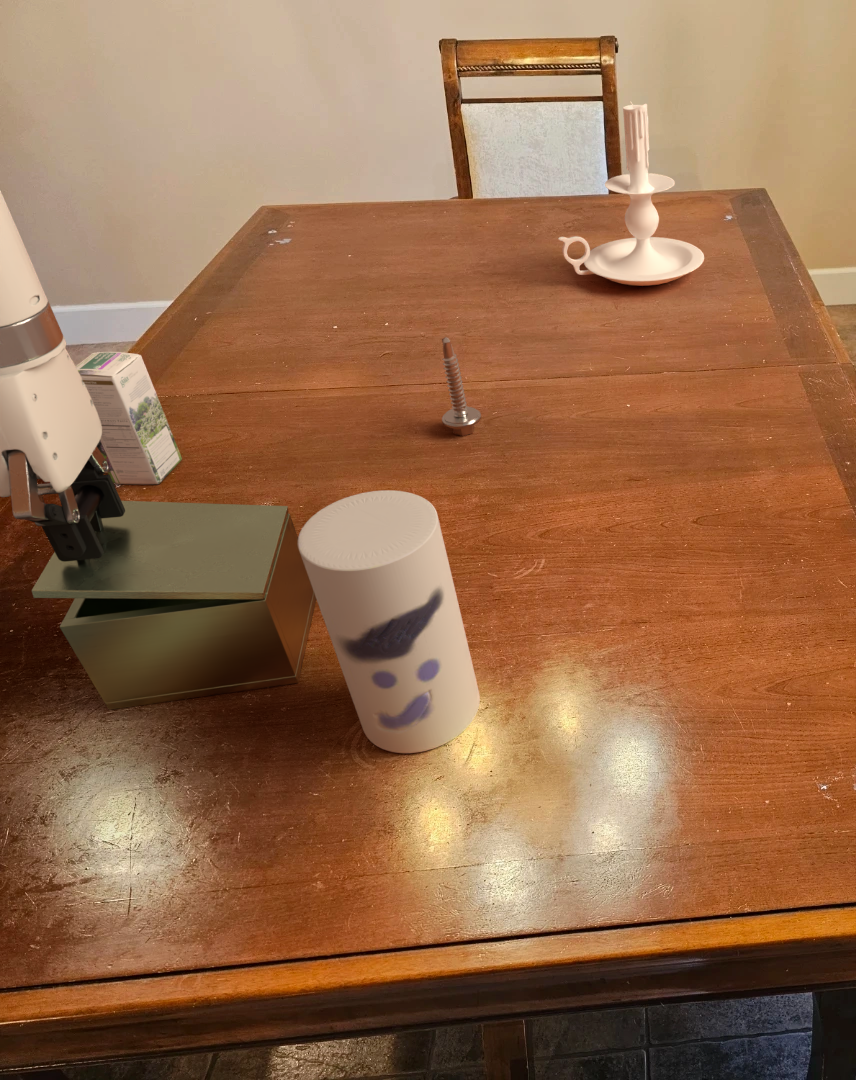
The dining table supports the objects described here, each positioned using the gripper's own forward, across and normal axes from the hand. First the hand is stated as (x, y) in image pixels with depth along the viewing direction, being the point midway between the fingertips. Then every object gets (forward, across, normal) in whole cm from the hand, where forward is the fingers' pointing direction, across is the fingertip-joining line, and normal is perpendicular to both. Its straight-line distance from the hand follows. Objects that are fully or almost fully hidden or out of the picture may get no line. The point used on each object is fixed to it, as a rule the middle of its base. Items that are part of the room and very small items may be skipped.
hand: (93, 534), depth 78 cm
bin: (+14, 0, +6) cm, 15 cm away
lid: (+3, 0, +5) cm, 6 cm away
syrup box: (+15, -34, -9) cm, 38 cm away
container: (+14, +12, +25) cm, 31 cm away
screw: (+14, -36, +28) cm, 48 cm away
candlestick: (+13, -83, +56) cm, 101 cm away
